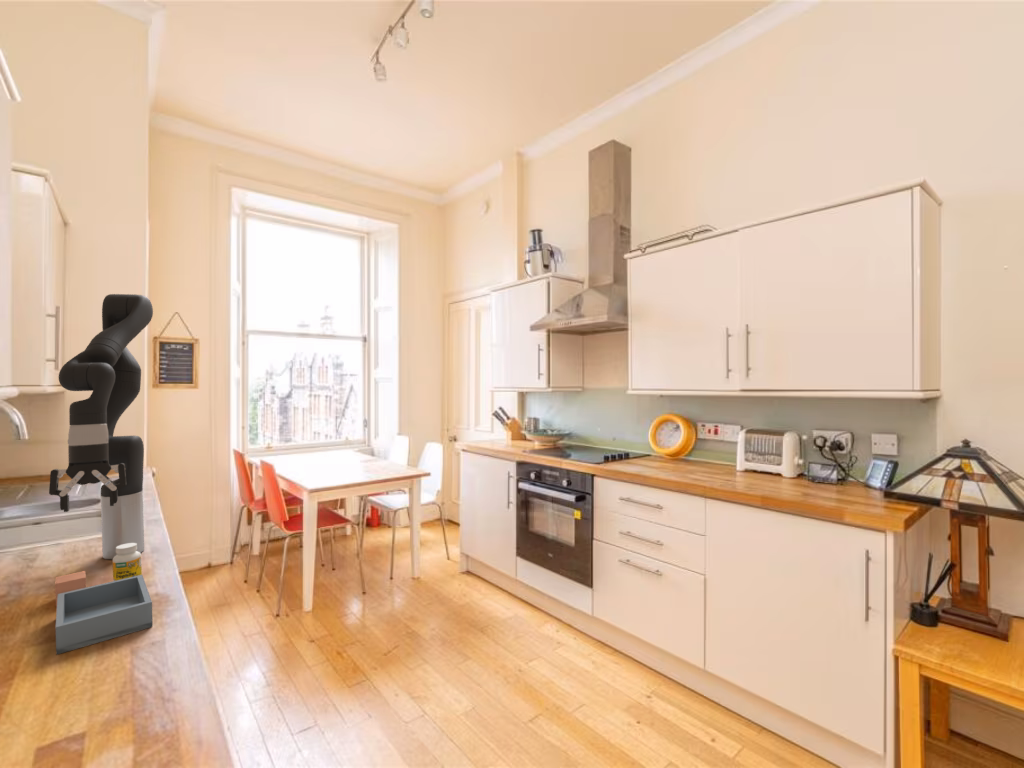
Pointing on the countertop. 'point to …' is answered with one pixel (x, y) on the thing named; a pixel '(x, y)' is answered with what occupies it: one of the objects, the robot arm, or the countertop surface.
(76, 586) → the terracotta cube
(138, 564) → the supplement bottle
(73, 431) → the robot arm
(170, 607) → the countertop surface
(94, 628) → the tote
